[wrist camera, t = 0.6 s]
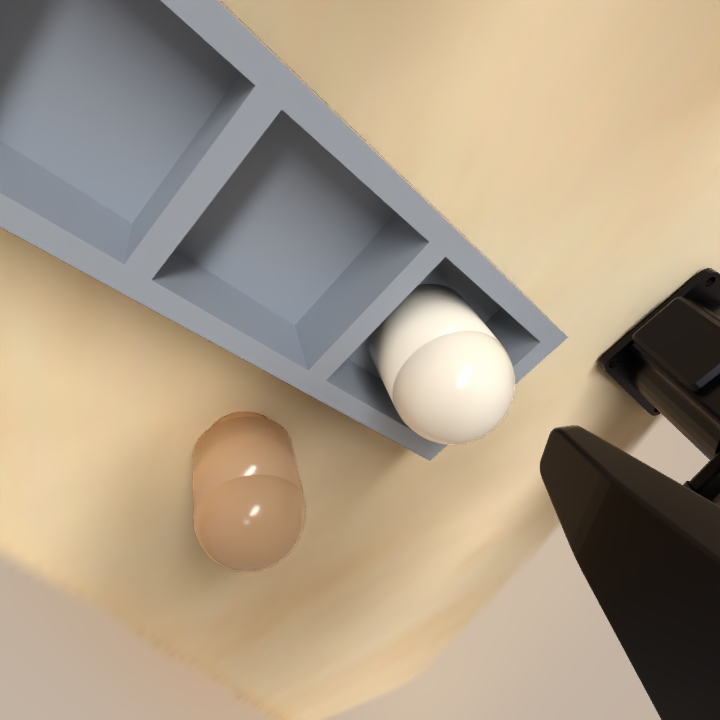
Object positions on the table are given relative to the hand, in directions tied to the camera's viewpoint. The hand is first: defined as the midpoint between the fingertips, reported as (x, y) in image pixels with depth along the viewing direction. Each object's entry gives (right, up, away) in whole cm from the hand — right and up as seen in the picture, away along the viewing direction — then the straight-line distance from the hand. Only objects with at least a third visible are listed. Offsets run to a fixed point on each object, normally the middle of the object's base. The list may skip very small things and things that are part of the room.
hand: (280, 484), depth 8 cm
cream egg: (+3, +4, +14) cm, 15 cm away
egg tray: (-2, +7, +10) cm, 13 cm away
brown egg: (-4, -2, +16) cm, 16 cm away
